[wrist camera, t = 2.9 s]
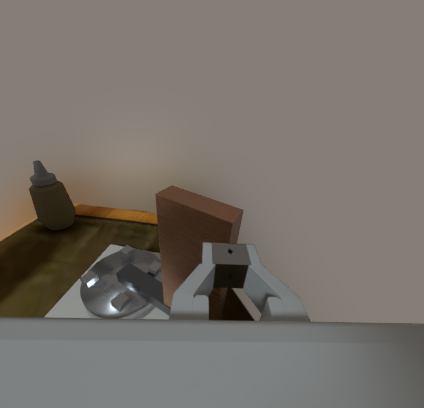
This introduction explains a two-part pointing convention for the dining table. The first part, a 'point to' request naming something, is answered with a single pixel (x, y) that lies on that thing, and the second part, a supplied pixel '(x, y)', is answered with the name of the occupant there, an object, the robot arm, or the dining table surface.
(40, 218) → the squeeze bottle
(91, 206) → the dining table surface
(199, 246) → the silver brown l-shaped piece
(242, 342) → the robot arm
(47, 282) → the dining table surface
